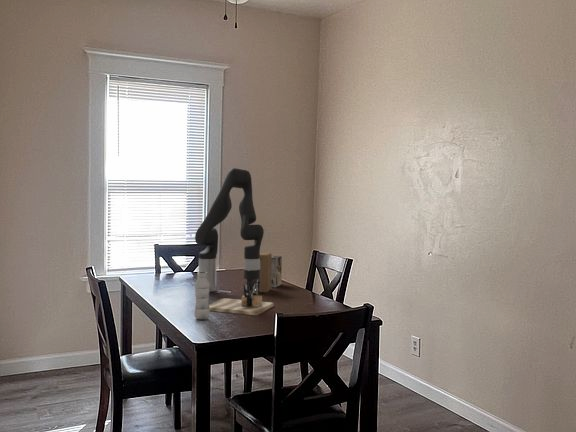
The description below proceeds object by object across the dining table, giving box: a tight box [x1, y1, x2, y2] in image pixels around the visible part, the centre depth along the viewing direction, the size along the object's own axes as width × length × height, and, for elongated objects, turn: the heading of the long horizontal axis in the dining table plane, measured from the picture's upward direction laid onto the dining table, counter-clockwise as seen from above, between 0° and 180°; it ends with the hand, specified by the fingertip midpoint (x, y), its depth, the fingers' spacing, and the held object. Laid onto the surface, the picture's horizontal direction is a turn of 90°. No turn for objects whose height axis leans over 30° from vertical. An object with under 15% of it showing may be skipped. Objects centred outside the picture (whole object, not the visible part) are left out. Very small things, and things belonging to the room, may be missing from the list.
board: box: [209, 297, 274, 316], centre depth 269 cm, size 26×20×2 cm
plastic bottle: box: [193, 271, 211, 321], centre depth 247 cm, size 6×7×20 cm
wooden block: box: [257, 251, 273, 294], centre depth 308 cm, size 10×10×20 cm
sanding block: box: [240, 295, 263, 308], centre depth 267 cm, size 8×5×4 cm, turn 66°
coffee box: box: [271, 255, 283, 288], centre depth 323 cm, size 9×6×16 cm
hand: (251, 304), depth 267 cm, fingers closed on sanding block, 5 cm apart
